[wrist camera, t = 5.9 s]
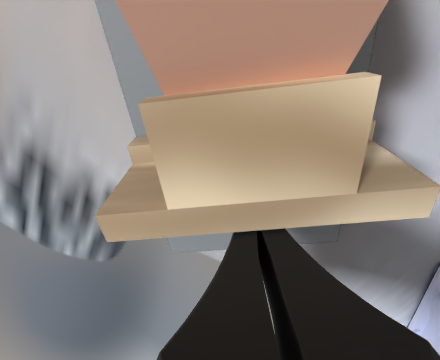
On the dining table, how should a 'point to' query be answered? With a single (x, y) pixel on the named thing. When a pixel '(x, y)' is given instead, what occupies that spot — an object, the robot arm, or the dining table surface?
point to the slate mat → (148, 87)
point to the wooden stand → (262, 162)
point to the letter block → (247, 39)
